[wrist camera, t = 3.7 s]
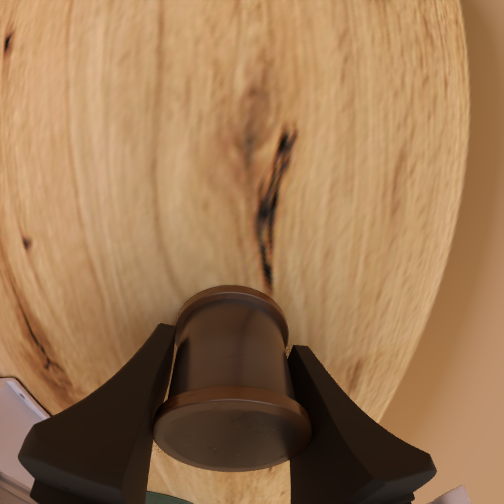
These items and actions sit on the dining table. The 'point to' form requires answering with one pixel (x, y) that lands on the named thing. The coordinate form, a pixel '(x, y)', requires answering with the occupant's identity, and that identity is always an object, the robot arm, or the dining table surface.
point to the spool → (231, 386)
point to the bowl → (163, 499)
